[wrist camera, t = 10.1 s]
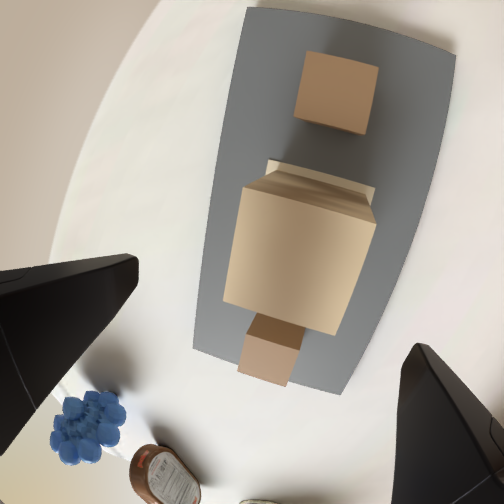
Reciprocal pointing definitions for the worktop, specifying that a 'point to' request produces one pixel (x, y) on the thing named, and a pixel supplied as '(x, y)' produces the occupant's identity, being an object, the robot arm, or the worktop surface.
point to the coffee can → (256, 502)
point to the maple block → (298, 249)
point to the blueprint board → (322, 173)
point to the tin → (162, 477)
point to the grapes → (87, 427)
